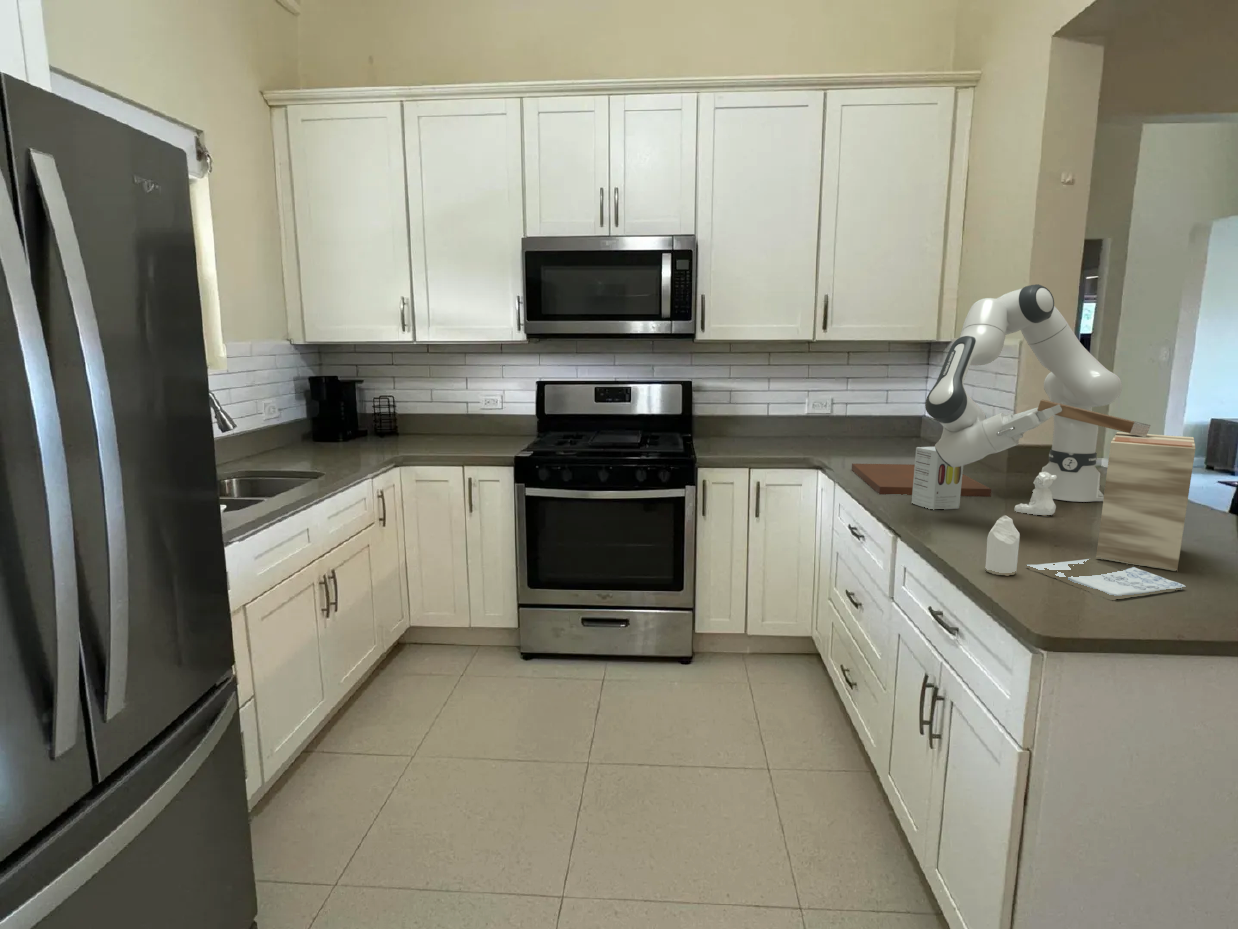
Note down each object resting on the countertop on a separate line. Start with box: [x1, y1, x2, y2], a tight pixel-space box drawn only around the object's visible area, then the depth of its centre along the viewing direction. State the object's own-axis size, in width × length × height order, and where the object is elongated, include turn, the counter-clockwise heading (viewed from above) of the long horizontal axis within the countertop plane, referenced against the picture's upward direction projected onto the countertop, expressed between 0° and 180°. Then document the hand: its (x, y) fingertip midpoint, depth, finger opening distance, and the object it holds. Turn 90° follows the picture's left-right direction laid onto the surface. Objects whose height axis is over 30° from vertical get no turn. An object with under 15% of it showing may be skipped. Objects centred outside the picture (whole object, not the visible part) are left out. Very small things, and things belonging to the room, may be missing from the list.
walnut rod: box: [1037, 399, 1151, 438], centre depth 163 cm, size 4×22×2 cm, turn 52°
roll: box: [985, 515, 1021, 573], centre depth 144 cm, size 6×12×6 cm
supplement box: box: [911, 446, 964, 511], centre depth 200 cm, size 10×9×17 cm
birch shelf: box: [1095, 431, 1196, 571], centre depth 154 cm, size 20×14×26 cm
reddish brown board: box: [851, 463, 992, 498], centre depth 234 cm, size 40×3×33 cm
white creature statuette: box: [1013, 471, 1057, 516], centre depth 191 cm, size 10×9×12 cm
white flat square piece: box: [1026, 558, 1187, 596], centre depth 141 cm, size 19×20×2 cm
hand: (1062, 406), depth 166 cm, fingers closed on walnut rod, 3 cm apart
